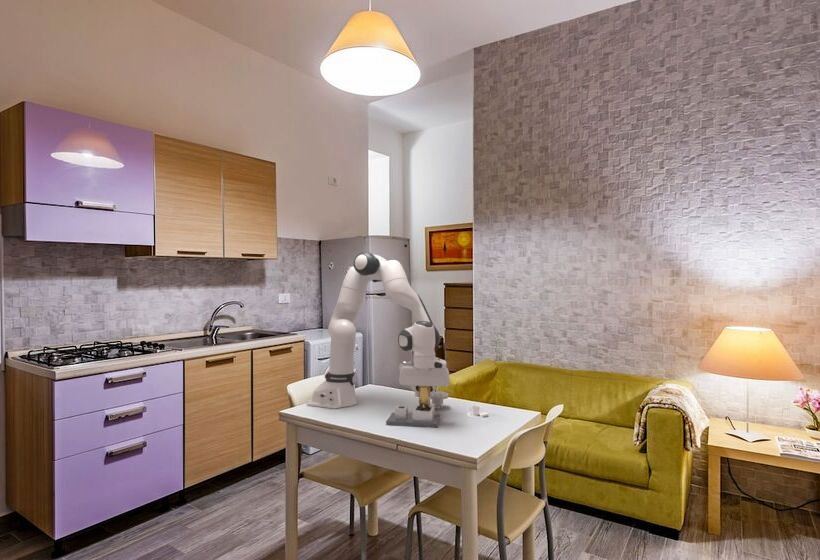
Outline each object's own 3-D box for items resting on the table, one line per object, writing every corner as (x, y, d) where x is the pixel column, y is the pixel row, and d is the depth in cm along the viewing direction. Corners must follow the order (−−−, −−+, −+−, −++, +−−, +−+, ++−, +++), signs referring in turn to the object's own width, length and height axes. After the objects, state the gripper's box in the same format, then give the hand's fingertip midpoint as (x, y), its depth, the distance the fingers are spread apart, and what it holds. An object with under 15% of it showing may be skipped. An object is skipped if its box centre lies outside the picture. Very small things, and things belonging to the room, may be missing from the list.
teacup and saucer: (491, 417, 191) (491, 407, 191) (475, 420, 187) (475, 410, 187) (477, 412, 198) (477, 402, 198) (463, 414, 195) (463, 405, 195)
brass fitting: (418, 407, 181) (418, 387, 181) (419, 404, 186) (419, 384, 186) (429, 408, 181) (429, 387, 181) (430, 405, 185) (430, 385, 185)
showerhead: (425, 389, 208) (447, 389, 208) (425, 405, 208) (447, 405, 208) (425, 394, 198) (449, 394, 198) (425, 410, 198) (449, 411, 198)
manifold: (386, 424, 179) (386, 410, 179) (392, 415, 191) (392, 402, 191) (437, 427, 176) (437, 413, 176) (440, 418, 188) (440, 405, 188)
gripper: (397, 362, 182) (397, 397, 182) (448, 364, 178) (449, 399, 178) (400, 360, 188) (400, 393, 188) (450, 361, 185) (450, 395, 185)
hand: (424, 396), depth 183 cm, fingers closed on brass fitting, 4 cm apart
